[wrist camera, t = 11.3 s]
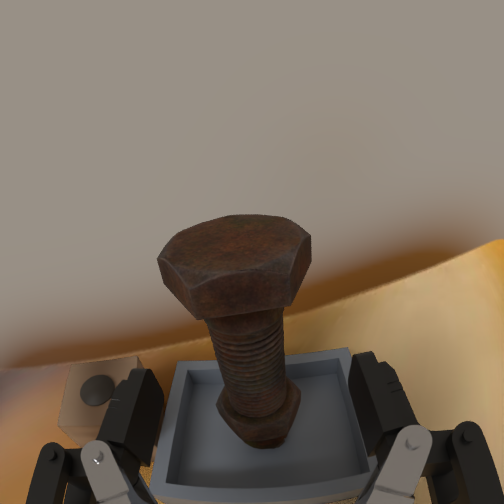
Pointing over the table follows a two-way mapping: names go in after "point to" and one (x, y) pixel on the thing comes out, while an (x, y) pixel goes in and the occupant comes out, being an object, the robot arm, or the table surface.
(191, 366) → the tray
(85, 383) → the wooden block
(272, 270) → the bolt
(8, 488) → the table surface
